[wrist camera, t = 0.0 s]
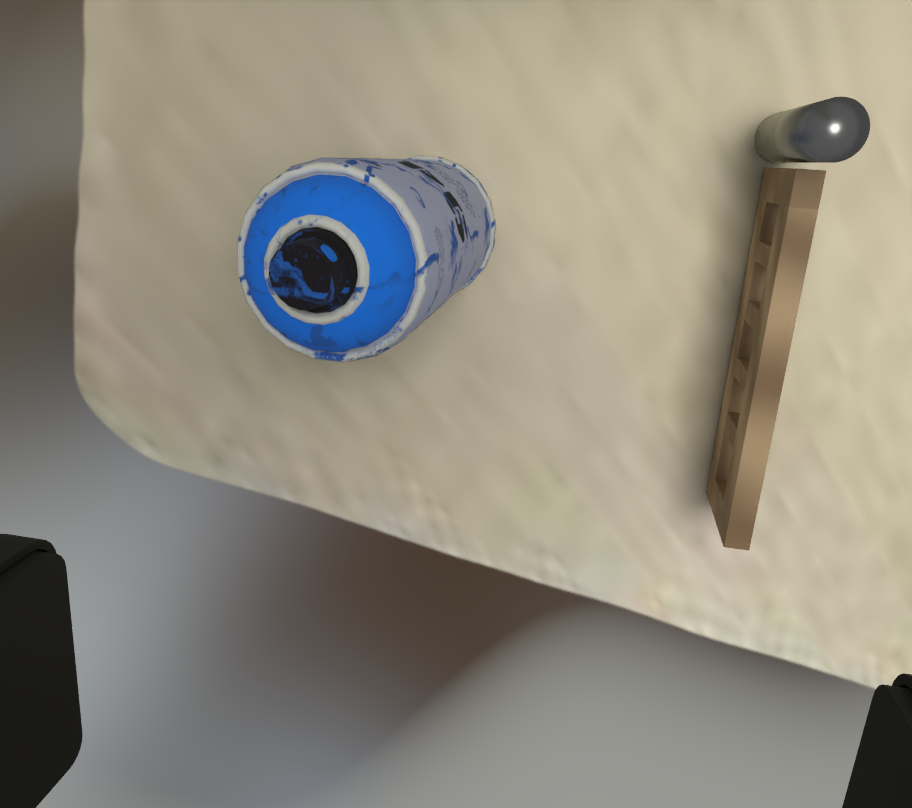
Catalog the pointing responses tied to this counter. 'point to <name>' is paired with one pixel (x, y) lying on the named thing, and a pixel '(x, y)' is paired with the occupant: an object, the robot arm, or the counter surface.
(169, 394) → the counter surface
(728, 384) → the gate
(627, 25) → the counter surface
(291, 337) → the aerosol can
